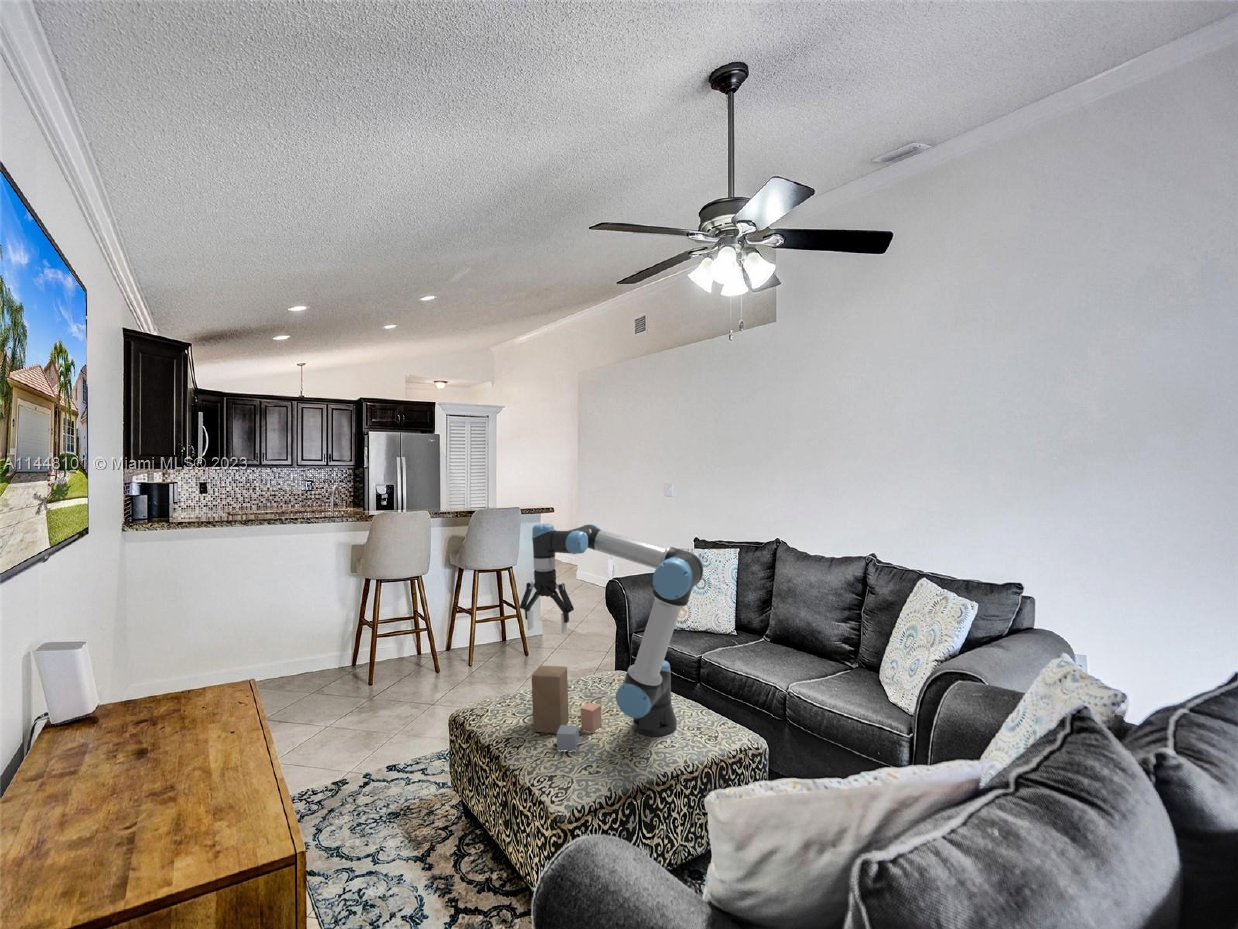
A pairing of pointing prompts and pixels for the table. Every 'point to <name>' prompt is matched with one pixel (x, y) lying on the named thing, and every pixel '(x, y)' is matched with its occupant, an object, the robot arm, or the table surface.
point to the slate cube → (567, 737)
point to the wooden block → (550, 698)
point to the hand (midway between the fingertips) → (547, 630)
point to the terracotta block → (591, 717)
